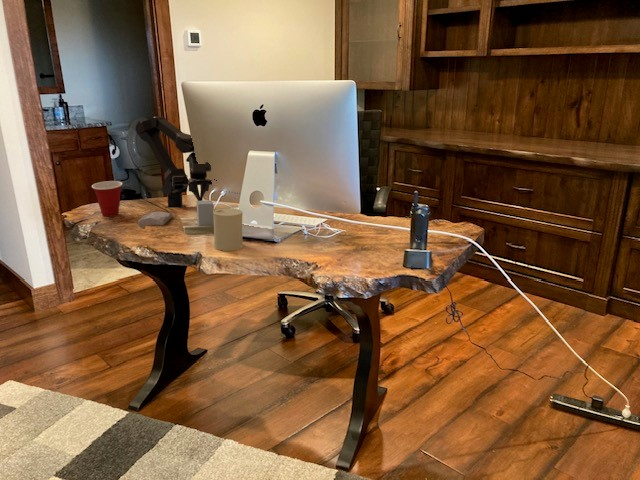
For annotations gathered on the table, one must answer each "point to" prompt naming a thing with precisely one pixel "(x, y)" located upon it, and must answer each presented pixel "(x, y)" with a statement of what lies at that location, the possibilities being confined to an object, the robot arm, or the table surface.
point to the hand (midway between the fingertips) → (200, 202)
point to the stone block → (154, 219)
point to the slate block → (205, 213)
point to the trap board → (196, 227)
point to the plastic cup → (108, 196)
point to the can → (228, 229)
